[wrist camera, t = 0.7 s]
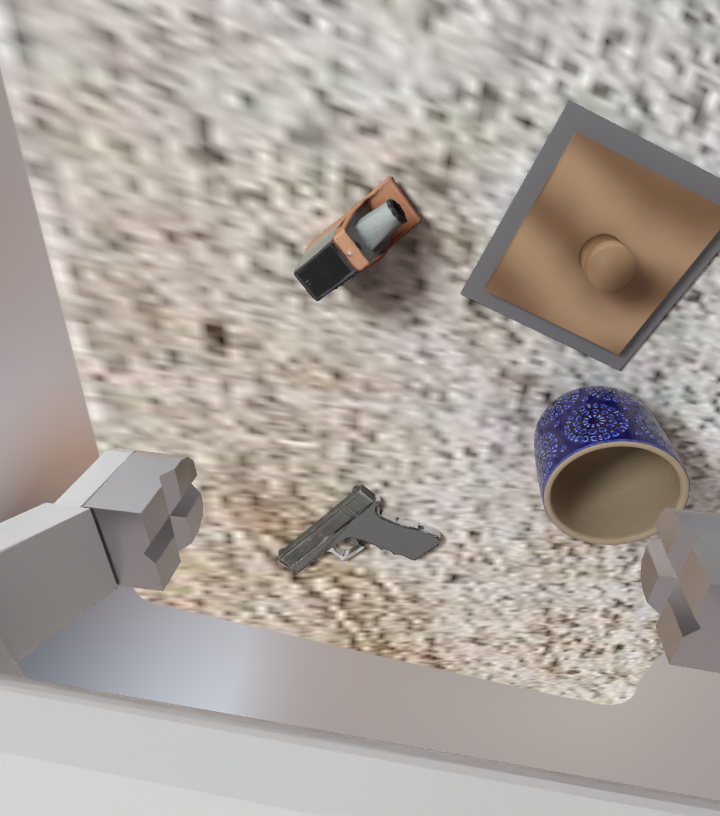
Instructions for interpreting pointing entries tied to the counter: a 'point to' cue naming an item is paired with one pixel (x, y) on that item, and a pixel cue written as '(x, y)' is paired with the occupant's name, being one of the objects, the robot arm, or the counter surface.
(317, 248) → the electronic device
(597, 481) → the planter
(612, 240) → the lid
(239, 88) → the counter surface
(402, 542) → the handgun
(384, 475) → the counter surface
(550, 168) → the mat
